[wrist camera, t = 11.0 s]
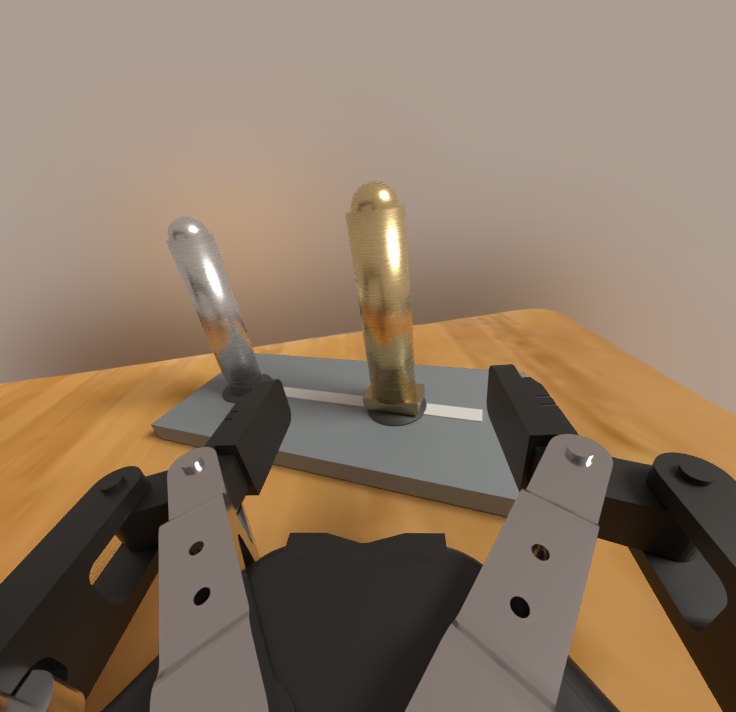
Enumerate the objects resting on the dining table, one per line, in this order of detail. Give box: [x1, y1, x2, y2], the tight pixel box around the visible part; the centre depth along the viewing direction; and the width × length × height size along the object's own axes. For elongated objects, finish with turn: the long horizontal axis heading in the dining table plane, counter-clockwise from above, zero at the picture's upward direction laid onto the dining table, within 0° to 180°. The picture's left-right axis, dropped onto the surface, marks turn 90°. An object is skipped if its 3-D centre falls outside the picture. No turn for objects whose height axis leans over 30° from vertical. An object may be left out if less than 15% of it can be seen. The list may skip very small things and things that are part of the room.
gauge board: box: [151, 353, 525, 517], centre depth 25 cm, size 28×12×2 cm, turn 70°
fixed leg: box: [166, 217, 264, 397], centre depth 24 cm, size 3×3×14 cm
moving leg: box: [346, 181, 425, 416], centre depth 19 cm, size 4×3×14 cm
